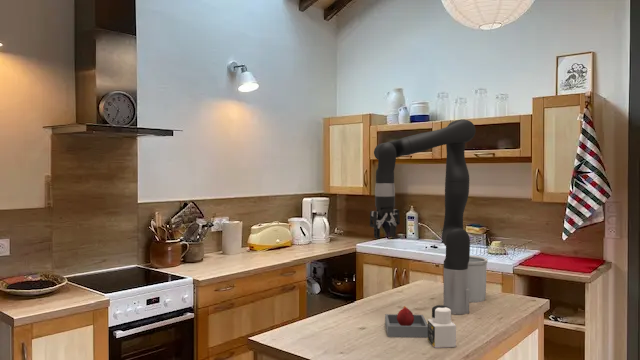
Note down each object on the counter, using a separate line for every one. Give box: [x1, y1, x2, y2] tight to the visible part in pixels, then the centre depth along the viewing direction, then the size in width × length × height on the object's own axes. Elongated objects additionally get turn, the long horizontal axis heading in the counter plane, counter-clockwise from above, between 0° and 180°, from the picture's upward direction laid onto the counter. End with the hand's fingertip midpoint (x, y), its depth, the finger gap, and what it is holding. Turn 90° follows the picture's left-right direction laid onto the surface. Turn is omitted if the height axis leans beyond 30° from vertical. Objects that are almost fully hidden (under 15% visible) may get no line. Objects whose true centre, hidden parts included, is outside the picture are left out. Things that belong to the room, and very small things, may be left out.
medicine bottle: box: [427, 304, 457, 349], centre depth 159 cm, size 7×7×12 cm
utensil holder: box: [468, 254, 488, 303], centre depth 214 cm, size 15×15×18 cm
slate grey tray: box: [384, 313, 428, 339], centre depth 172 cm, size 14×14×4 cm
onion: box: [397, 305, 414, 326], centre depth 172 cm, size 6×6×8 cm
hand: (385, 237), depth 190 cm, fingers open, 8 cm apart
